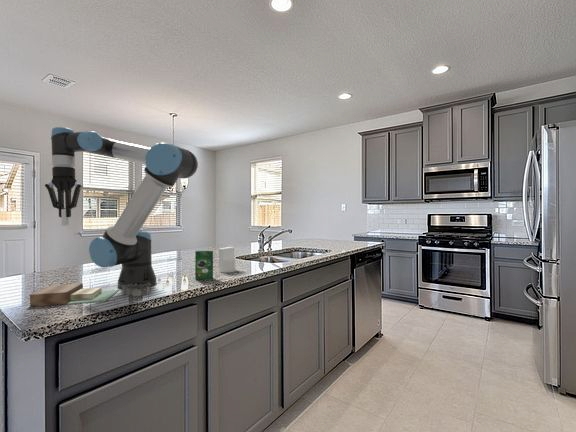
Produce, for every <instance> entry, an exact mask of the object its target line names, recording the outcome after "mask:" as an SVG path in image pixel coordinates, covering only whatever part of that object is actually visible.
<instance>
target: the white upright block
mask: <svg viewBox="0 0 576 432" xmlns="http://www.w3.org/2000/svg"><path fill="white" fill-rule="evenodd" d="M236 267H237V266H236V258H235V247H234V246H227V247H221V248H218V259H217V272H218V273H223V274H224V273H233V272H236Z"/></svg>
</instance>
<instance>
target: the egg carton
mask: <svg viewBox="0 0 576 432" xmlns="http://www.w3.org/2000/svg"><path fill="white" fill-rule="evenodd" d="M150 285H151V283H147V284H144V285H143V284H142V285H138V284H135V285H133V284H128V285H127V284H126V285H121V286H122V287H123V288H121V291H122V295H127V296H132V297H139V296H140V297H141V296H142V295H148V294H150V293H151V287H150ZM151 286H152V285H151Z"/></svg>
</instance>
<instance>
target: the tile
mask: <svg viewBox="0 0 576 432" xmlns="http://www.w3.org/2000/svg"><path fill="white" fill-rule="evenodd" d="M102 291H103V289H102V287H91V288H90V287H89V288H88V287H87V288H83V289H80V290H78V291H76V292H75V293H73V294H71V295H70V299H71V300H85V299H93V298H95V297H96V296H98V295H99V294H100V293H102Z"/></svg>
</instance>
